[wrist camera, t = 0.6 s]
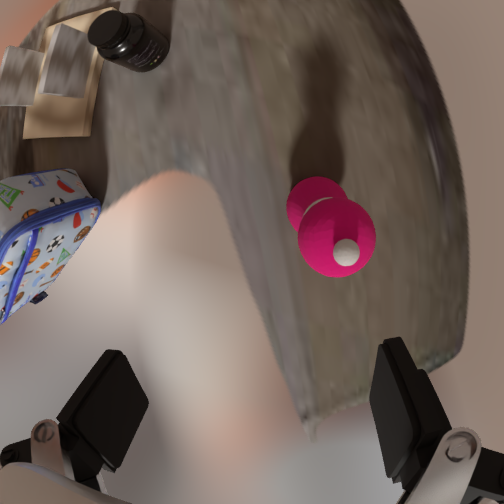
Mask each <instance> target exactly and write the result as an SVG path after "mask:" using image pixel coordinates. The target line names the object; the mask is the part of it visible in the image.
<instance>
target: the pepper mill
mask: <svg viewBox="0 0 504 504" xmlns="http://www.w3.org/2000/svg"><path fill="white" fill-rule="evenodd" d="M286 206H287V215H288V218H289V221H290V222H291V224H292V226H293V227H294V229H295V230H296V231H297V232H298V245H299V248H300V251H301V254H302V256H303V258H304V259H305V261H306V262H307V263H308V264H309V266H310V267H312V268H313V269H314V270H315V271H317V272H319V273H320V274H323V275H326V276H329V277H344V276H348V275H351V274H353V273H355V272H357V271H358V270H360V269H361V268H362V267H364V265H365V264H366V263H367V262H368V261H369V259H370V258H371V256H372V254H373V251H374V248H375V242H376V234H375V228H374V225H373V222H372V220H371V218H370V216H369V214H368V213H367V212H366V211H365V210H364V209H363V208H362V207H361V206H360V205H359V204H357V203H355V202H354V201H351V200H349V199H348V198H347V196H346V194H345V192H344V191H343V189H342V188H341V187H340V186H339V185H338V184H337V183H336V182H334V181H333V180H331V179H328V178H325V177H318V176H315V177H309V178H306V179H304V180H302V181H300V182H299V183H298V184H297V185H296V186H295V187H294V188H293V189H292V190H291V192H290V194H289V196H288V200H287V205H286Z"/></svg>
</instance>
